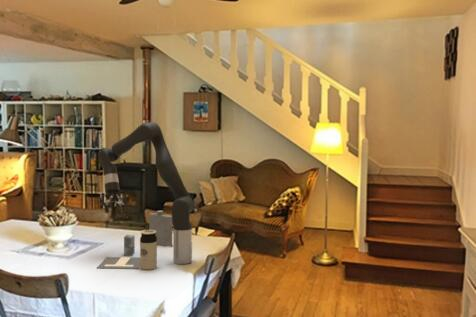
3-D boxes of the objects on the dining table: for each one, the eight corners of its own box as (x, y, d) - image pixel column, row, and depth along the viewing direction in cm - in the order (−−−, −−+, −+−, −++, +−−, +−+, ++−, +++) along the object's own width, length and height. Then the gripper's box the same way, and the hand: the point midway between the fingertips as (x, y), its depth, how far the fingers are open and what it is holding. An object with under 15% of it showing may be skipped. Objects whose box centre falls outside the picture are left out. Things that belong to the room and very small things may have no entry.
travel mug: (149, 263, 216) (149, 228, 214) (160, 267, 211) (160, 231, 209) (136, 267, 210) (136, 231, 208) (147, 271, 205) (147, 234, 203)
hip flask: (173, 245, 249) (173, 211, 247) (168, 247, 245) (169, 212, 244) (151, 241, 256) (151, 208, 255) (147, 243, 253) (147, 209, 251)
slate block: (134, 253, 233) (134, 235, 232) (132, 255, 229) (132, 237, 228) (126, 253, 233) (126, 235, 232) (124, 255, 229) (124, 237, 228)
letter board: (145, 258, 224) (145, 257, 224) (137, 269, 207) (137, 268, 207) (107, 257, 224) (107, 256, 224) (96, 268, 207) (96, 267, 207)
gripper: (102, 180, 222) (105, 211, 217) (126, 181, 232) (130, 210, 227) (95, 185, 227) (98, 215, 222) (120, 185, 237) (123, 214, 232)
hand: (115, 212), depth 225 cm, fingers open, 8 cm apart
